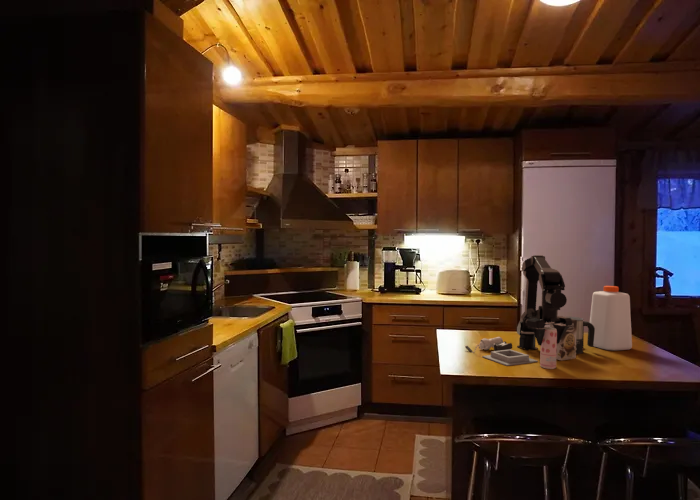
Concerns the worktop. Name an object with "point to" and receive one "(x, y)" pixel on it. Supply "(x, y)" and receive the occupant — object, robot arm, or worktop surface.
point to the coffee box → (567, 343)
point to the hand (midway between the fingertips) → (548, 344)
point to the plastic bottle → (611, 319)
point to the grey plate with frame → (509, 357)
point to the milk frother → (581, 334)
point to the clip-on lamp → (492, 344)
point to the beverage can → (549, 348)
